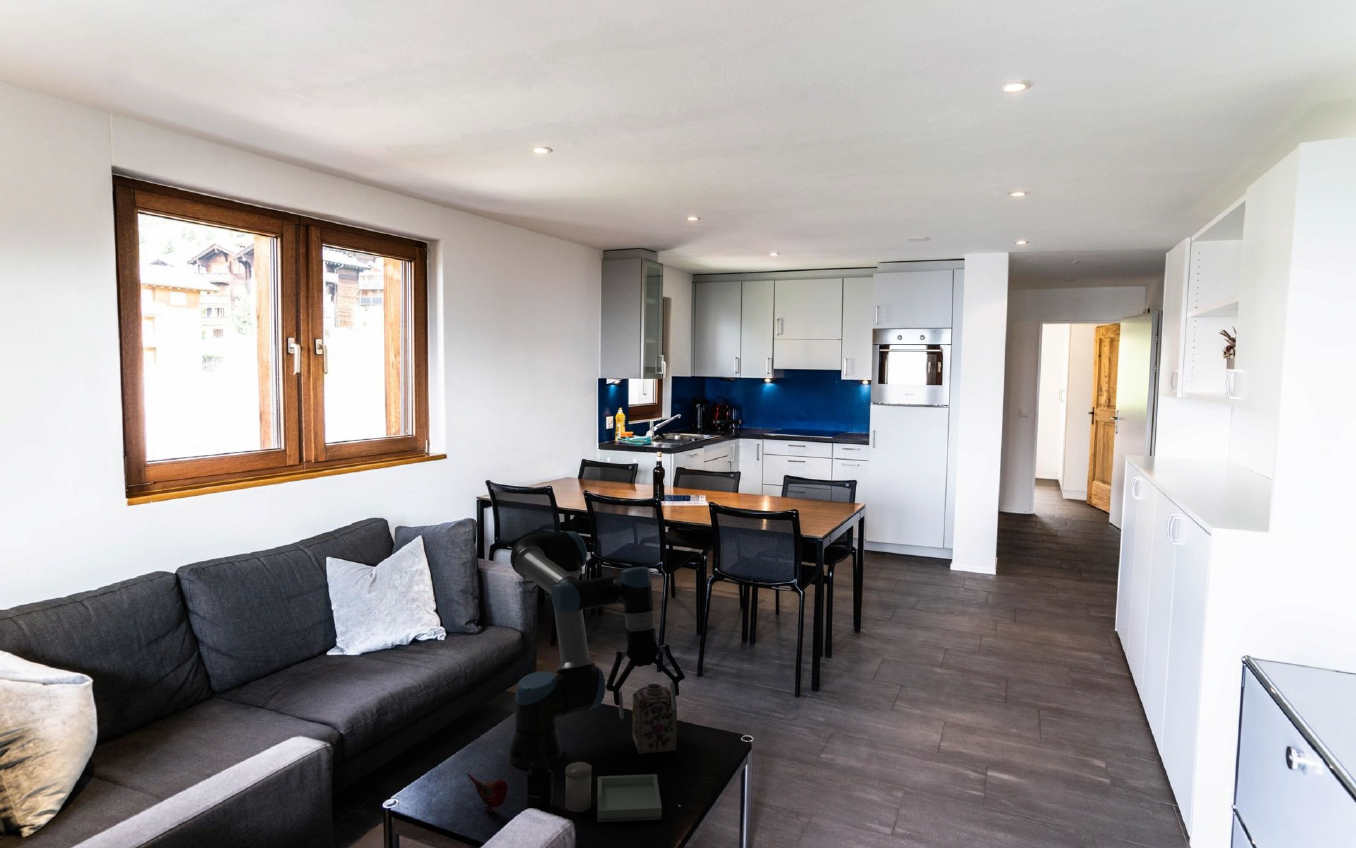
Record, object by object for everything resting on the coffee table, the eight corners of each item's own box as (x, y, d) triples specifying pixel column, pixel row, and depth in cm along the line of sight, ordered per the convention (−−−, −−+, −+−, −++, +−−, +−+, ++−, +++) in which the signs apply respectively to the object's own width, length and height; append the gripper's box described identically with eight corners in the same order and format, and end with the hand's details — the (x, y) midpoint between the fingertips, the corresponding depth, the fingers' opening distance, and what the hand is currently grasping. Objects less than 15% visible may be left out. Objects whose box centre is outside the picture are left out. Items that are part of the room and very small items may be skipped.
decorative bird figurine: (503, 825, 182) (503, 786, 182) (462, 798, 194) (462, 761, 193) (512, 820, 185) (513, 781, 184) (471, 793, 196) (471, 757, 196)
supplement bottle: (528, 817, 186) (528, 770, 186) (523, 802, 193) (523, 757, 192) (555, 811, 189) (555, 765, 188) (549, 797, 195) (549, 752, 195)
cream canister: (565, 798, 195) (565, 762, 194) (591, 797, 196) (591, 761, 195) (564, 813, 188) (564, 776, 188) (591, 812, 189) (591, 775, 188)
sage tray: (597, 787, 200) (597, 776, 200) (656, 785, 202) (656, 774, 202) (597, 822, 185) (597, 810, 184) (661, 819, 186) (661, 808, 186)
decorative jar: (638, 755, 218) (639, 695, 217) (631, 736, 229) (632, 680, 228) (677, 751, 221) (678, 692, 220) (668, 733, 232) (669, 677, 231)
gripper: (593, 637, 184) (601, 725, 182) (690, 623, 190) (699, 709, 187) (590, 632, 191) (597, 718, 189) (684, 620, 197) (692, 702, 194)
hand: (648, 714), depth 188 cm, fingers open, 13 cm apart
